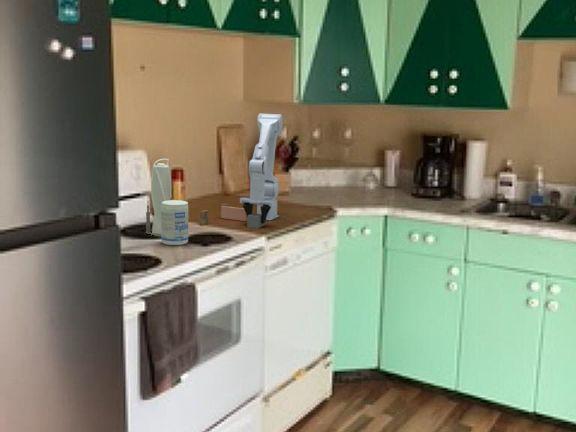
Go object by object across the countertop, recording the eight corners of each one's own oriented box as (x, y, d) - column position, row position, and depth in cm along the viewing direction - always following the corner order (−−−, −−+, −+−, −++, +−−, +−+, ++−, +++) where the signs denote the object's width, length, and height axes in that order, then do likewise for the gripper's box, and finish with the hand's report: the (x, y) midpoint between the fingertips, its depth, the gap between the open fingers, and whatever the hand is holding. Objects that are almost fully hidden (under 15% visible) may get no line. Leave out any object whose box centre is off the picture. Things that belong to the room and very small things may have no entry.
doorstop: (256, 223, 272) (256, 211, 271) (266, 224, 271) (266, 212, 269) (247, 227, 264) (247, 215, 263) (257, 229, 262) (257, 216, 261)
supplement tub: (179, 247, 230) (179, 205, 227) (155, 244, 233) (155, 203, 230) (193, 241, 239) (193, 201, 236) (170, 238, 242) (170, 198, 239)
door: (220, 218, 278) (221, 206, 277) (222, 217, 279) (222, 205, 278) (245, 221, 274) (245, 209, 273) (246, 220, 275) (246, 208, 274)
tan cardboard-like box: (224, 216, 283) (224, 203, 282) (227, 216, 283) (227, 203, 282) (199, 225, 265) (200, 211, 264) (203, 225, 264) (203, 212, 263)
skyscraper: (159, 230, 254) (158, 157, 248) (176, 232, 251) (176, 159, 245) (144, 234, 247) (143, 159, 241) (162, 237, 243) (161, 161, 237)
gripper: (236, 188, 263) (235, 221, 266) (269, 192, 258) (268, 226, 261) (244, 186, 270) (243, 218, 272) (277, 189, 264) (276, 222, 267)
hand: (256, 222), depth 267 cm, fingers open, 5 cm apart
